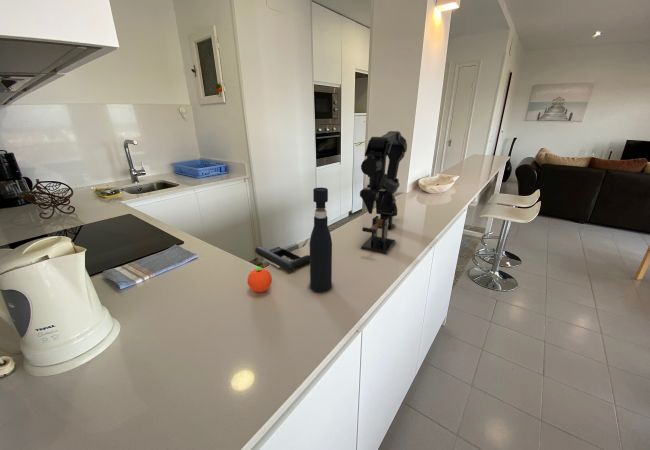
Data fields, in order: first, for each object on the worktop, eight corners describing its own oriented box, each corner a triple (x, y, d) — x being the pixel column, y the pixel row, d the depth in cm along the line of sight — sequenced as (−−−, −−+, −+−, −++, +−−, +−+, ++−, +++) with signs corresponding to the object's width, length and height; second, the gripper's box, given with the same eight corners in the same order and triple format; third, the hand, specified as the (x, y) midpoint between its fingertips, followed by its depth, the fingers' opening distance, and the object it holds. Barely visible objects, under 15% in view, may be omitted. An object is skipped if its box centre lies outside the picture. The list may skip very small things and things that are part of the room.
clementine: (246, 284, 84) (244, 264, 82) (269, 280, 87) (267, 259, 84) (250, 299, 77) (248, 277, 75) (275, 293, 80) (273, 272, 77)
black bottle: (315, 294, 79) (314, 193, 69) (306, 283, 85) (304, 187, 74) (335, 288, 82) (337, 190, 71) (325, 278, 88) (325, 185, 77)
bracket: (386, 254, 103) (388, 225, 99) (361, 248, 108) (362, 220, 103) (395, 242, 113) (397, 216, 109) (371, 238, 117) (373, 212, 113)
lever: (375, 235, 95) (376, 228, 94) (361, 232, 97) (362, 226, 97) (387, 226, 107) (388, 220, 106) (375, 223, 109) (375, 218, 109)
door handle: (286, 237, 112) (251, 247, 100) (321, 252, 99) (286, 266, 88) (286, 245, 113) (252, 256, 101) (321, 261, 100) (286, 276, 89)
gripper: (390, 177, 94) (386, 220, 99) (405, 170, 109) (400, 208, 114) (360, 174, 99) (358, 215, 104) (378, 167, 114) (375, 204, 119)
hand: (374, 210), depth 110 cm, fingers open, 9 cm apart
